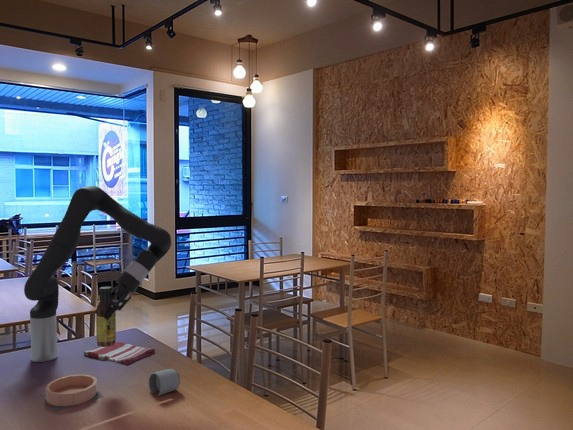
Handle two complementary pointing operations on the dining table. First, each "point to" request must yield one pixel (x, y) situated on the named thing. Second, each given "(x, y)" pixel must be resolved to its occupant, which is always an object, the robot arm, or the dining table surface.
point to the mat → (71, 406)
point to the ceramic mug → (164, 381)
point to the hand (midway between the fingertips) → (100, 316)
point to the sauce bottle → (104, 326)
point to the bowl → (71, 390)
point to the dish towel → (119, 353)
